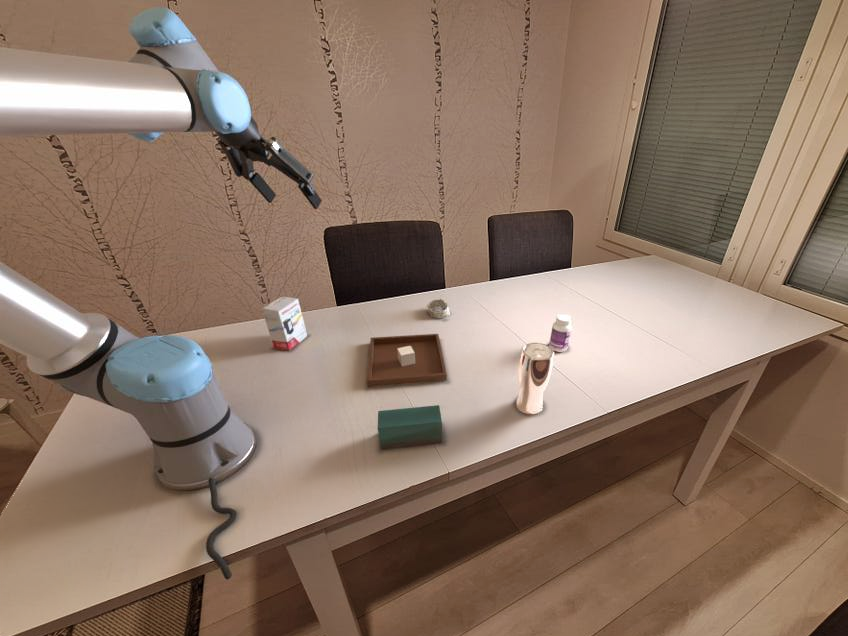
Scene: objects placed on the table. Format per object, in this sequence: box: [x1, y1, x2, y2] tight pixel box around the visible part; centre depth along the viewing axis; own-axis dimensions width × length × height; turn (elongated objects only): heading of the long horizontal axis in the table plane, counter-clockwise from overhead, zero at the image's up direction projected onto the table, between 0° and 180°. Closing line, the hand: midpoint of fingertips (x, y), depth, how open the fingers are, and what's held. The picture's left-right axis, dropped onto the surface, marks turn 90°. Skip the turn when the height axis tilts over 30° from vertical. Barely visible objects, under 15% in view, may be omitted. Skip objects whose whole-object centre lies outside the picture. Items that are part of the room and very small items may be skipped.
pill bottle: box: [548, 314, 573, 353], centre depth 104 cm, size 5×5×10 cm
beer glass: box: [515, 342, 555, 415], centre depth 81 cm, size 7×7×15 cm
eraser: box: [377, 404, 443, 451], centre depth 73 cm, size 5×12×6 cm, turn 101°
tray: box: [366, 333, 448, 388], centre depth 96 cm, size 20×19×2 cm
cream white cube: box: [397, 346, 415, 367], centre depth 95 cm, size 4×4×4 cm
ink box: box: [261, 296, 308, 352], centre depth 99 cm, size 9×5×12 cm, turn 168°
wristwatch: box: [426, 298, 451, 319], centre depth 118 cm, size 9×6×5 cm
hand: (295, 201), depth 90 cm, fingers open, 13 cm apart
